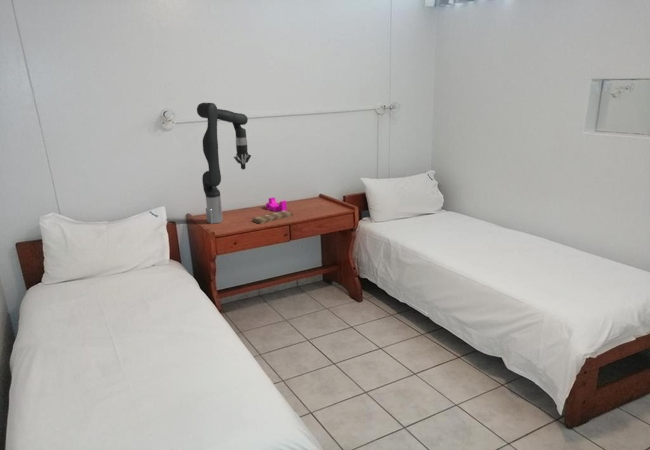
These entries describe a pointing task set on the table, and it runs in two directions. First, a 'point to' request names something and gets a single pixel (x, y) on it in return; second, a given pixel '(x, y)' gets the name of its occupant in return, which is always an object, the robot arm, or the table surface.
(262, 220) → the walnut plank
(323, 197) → the table surface
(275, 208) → the toy block
